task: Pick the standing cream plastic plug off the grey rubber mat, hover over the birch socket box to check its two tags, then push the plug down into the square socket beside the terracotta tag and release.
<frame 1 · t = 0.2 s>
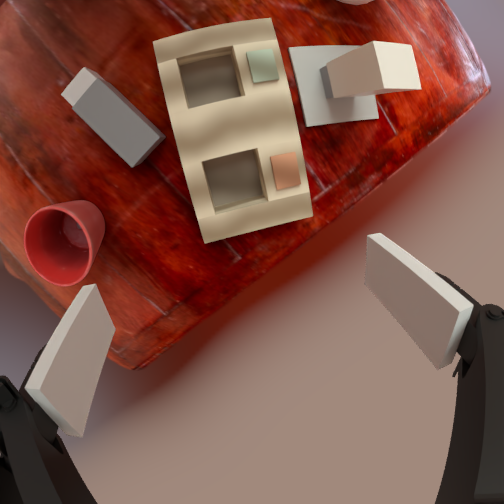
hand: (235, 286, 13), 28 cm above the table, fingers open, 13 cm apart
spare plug: (124, 122, 33), on the table
mat: (335, 83, 34), on the table
flower pot: (83, 223, 37), on the table
socket box: (232, 126, 35), on the table
plug: (337, 82, 34), point 1 cm above the table, touching mat
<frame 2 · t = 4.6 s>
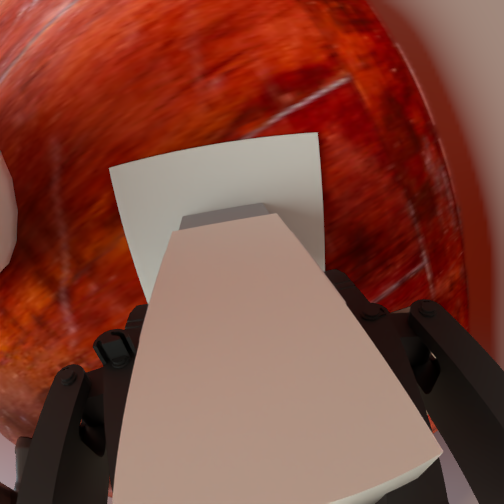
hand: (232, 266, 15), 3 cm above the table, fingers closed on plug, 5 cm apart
mat: (228, 242, 18), on the table
plug: (228, 245, 17), point 1 cm above the table, touching gripper, mat
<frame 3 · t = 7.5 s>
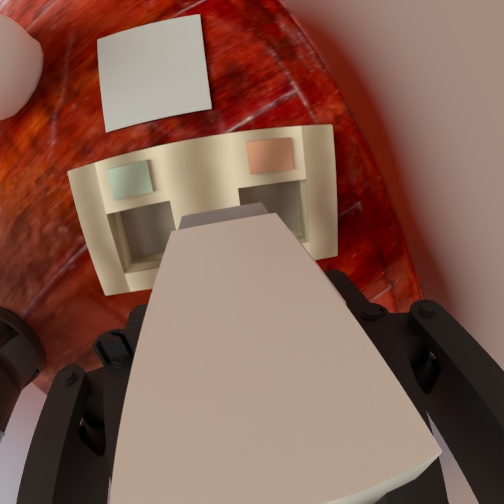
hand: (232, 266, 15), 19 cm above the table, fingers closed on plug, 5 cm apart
mat: (151, 70, 25), on the table
socket box: (206, 198, 32), on the table
plug: (227, 245, 17), point 16 cm above the table, touching gripper
vase: (11, 77, 20), on the table
when the fingers open (7 cm above the table, at t = 10.8 s): plug drops 2 cm, resting on socket box.
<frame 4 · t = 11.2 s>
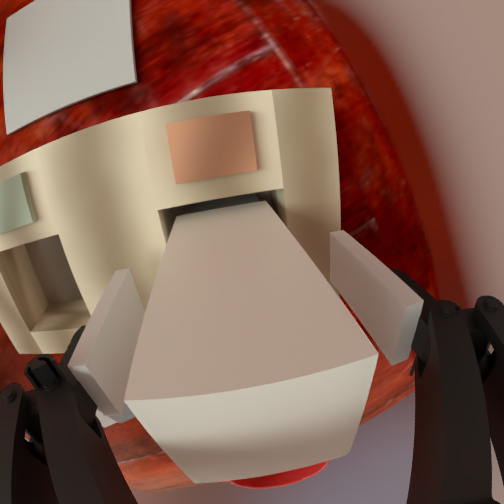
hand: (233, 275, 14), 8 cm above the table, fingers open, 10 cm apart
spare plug: (142, 355, 26), on the table
mat: (61, 41, 13), on the table
flower pot: (263, 405, 31), on the table
socket box: (136, 220, 20), on the table
plug: (225, 231, 19), point 2 cm above the table, touching socket box
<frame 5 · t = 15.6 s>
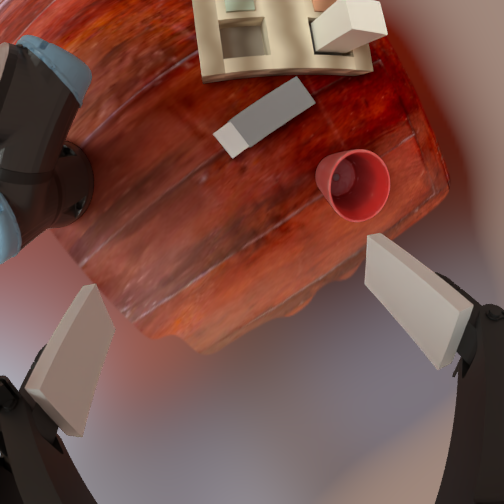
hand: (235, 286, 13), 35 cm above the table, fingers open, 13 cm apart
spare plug: (267, 112, 41), on the table
flower pot: (334, 175, 47), on the table
socket box: (278, 37, 36), on the table
plug: (321, 42, 35), point 2 cm above the table, touching socket box
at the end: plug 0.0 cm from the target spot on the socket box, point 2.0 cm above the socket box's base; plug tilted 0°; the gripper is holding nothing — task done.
